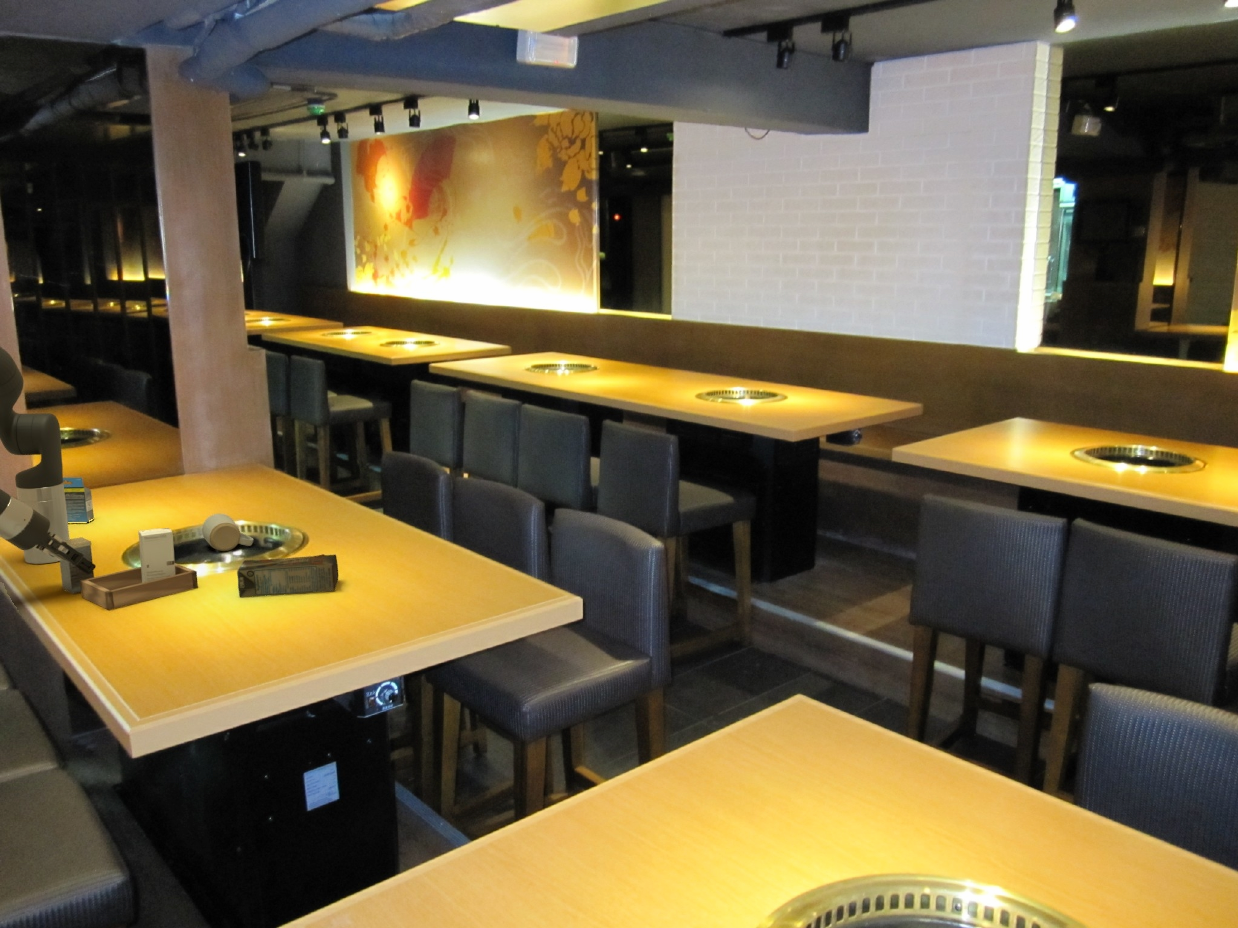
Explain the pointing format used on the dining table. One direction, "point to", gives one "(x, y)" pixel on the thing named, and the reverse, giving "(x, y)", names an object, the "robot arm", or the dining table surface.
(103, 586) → the crate
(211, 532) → the ceramic mug
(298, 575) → the beverage carton
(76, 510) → the label tape cartridge
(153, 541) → the skincare box
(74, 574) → the tea tin
